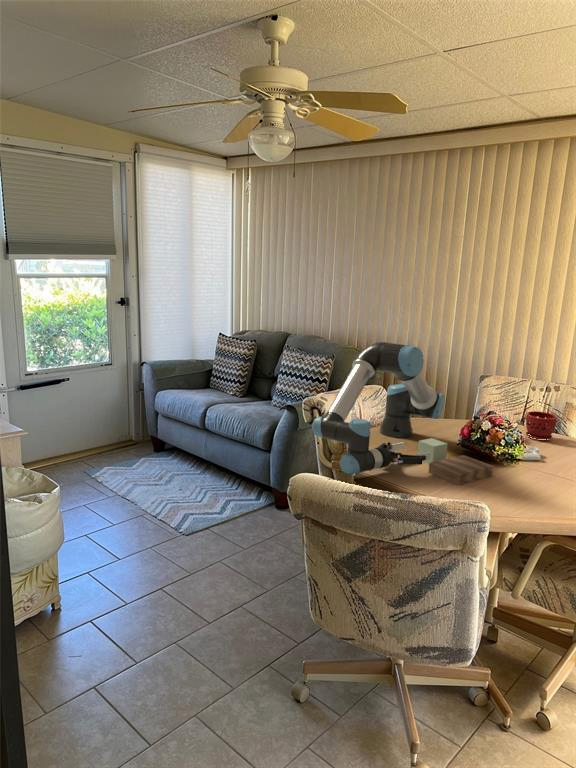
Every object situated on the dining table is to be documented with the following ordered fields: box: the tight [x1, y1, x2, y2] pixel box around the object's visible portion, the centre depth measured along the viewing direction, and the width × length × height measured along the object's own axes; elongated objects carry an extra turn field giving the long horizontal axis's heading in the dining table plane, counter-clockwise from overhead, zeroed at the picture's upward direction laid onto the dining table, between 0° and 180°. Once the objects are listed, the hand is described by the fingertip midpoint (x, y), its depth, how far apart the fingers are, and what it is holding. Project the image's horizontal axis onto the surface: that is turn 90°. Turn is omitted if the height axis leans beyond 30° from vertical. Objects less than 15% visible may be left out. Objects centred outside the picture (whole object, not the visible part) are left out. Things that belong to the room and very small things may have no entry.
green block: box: [416, 437, 448, 465], centre depth 229 cm, size 8×8×8 cm
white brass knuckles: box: [521, 445, 542, 461], centre depth 243 cm, size 3×18×15 cm
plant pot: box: [525, 410, 558, 440], centre depth 270 cm, size 13×13×12 cm
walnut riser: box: [428, 454, 494, 486], centre depth 216 cm, size 20×14×4 cm
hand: (415, 450), depth 223 cm, fingers open, 13 cm apart
